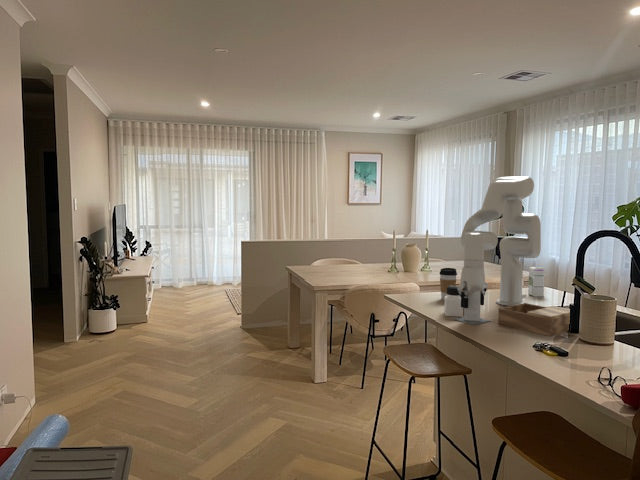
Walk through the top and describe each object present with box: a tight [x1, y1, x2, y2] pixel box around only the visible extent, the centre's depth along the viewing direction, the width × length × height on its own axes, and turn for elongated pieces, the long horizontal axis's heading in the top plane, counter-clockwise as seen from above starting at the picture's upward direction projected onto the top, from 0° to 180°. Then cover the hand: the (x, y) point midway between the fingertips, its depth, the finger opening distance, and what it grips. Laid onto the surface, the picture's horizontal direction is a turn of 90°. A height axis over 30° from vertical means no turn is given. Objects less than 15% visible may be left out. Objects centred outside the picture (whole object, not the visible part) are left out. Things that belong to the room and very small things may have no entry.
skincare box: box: [463, 290, 481, 321], centre depth 188 cm, size 6×4×12 cm
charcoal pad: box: [453, 316, 491, 326], centre depth 189 cm, size 10×10×1 cm
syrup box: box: [527, 266, 545, 298], centre depth 241 cm, size 6×6×14 cm
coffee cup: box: [439, 267, 458, 301], centre depth 230 cm, size 8×8×15 cm
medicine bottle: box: [443, 285, 464, 318], centre depth 199 cm, size 7×7×12 cm
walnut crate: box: [497, 302, 571, 337], centre depth 181 cm, size 18×21×7 cm
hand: (472, 306), depth 188 cm, fingers open, 9 cm apart
